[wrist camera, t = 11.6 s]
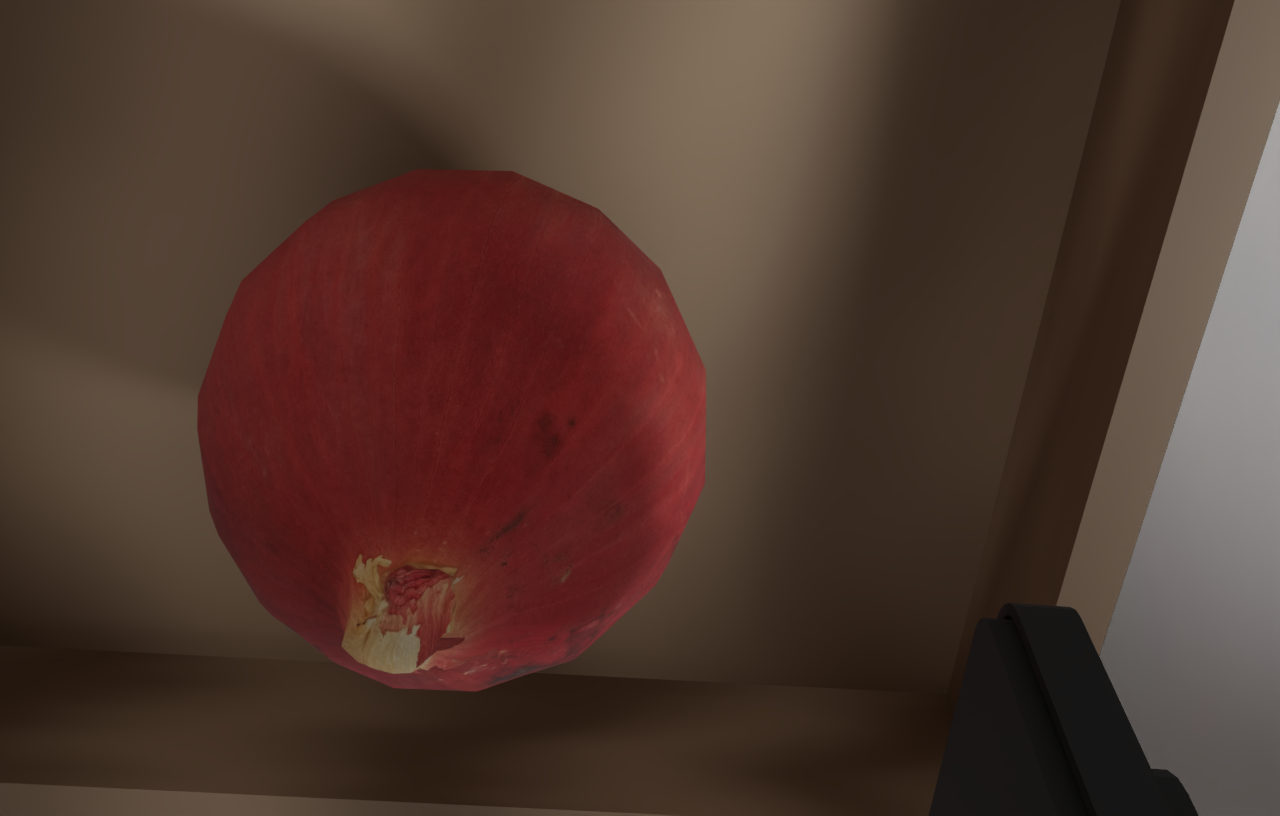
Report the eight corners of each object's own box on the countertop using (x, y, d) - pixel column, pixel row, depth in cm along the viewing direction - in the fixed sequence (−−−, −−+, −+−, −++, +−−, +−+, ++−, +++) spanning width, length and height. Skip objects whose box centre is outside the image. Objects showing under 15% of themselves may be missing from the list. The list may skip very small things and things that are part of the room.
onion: (749, 400, 18) (813, 815, 11) (404, 511, 19) (269, 953, 12) (609, 31, 16) (581, 274, 9) (218, 181, 17) (-87, 508, 10)
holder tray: (1225, -310, 15) (1415, -320, 11) (967, 683, 23) (1030, 868, 19) (-277, -424, 14) (-593, -476, 11) (-11, 633, 22) (-140, 812, 18)
